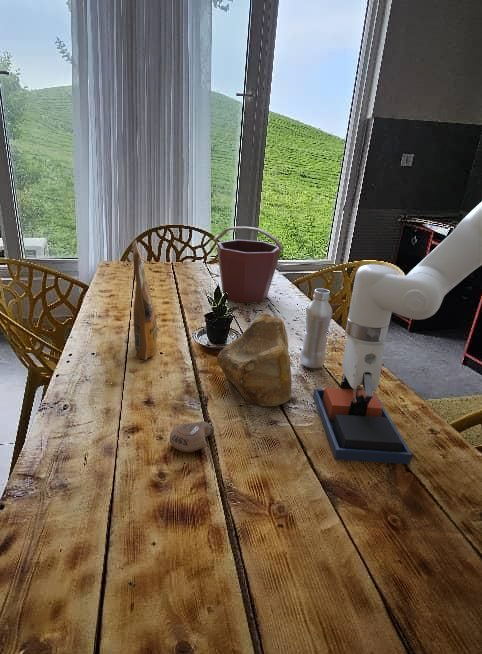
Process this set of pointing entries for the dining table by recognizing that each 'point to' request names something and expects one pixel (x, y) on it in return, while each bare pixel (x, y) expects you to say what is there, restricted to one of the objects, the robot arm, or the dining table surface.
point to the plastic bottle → (316, 330)
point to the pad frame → (358, 454)
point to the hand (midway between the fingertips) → (351, 407)
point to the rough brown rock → (260, 362)
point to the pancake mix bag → (143, 311)
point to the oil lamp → (190, 436)
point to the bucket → (247, 266)
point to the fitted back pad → (366, 433)
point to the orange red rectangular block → (347, 403)
